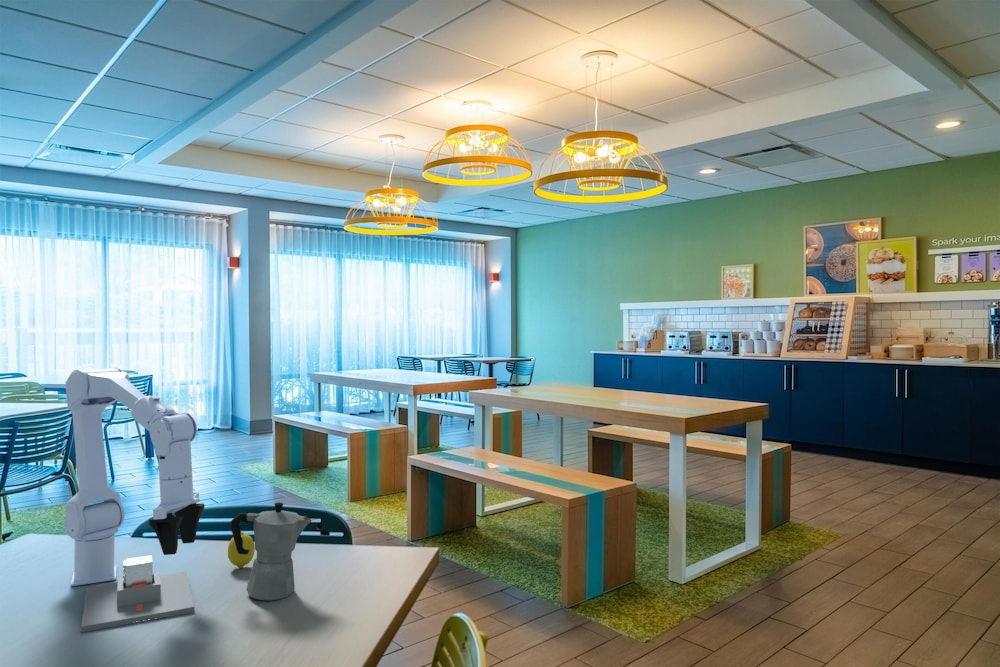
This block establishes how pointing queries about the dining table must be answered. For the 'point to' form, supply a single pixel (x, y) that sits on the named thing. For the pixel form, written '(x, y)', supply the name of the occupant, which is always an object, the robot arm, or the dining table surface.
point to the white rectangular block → (137, 570)
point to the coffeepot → (271, 550)
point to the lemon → (241, 559)
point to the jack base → (136, 601)
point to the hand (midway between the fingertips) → (179, 548)
